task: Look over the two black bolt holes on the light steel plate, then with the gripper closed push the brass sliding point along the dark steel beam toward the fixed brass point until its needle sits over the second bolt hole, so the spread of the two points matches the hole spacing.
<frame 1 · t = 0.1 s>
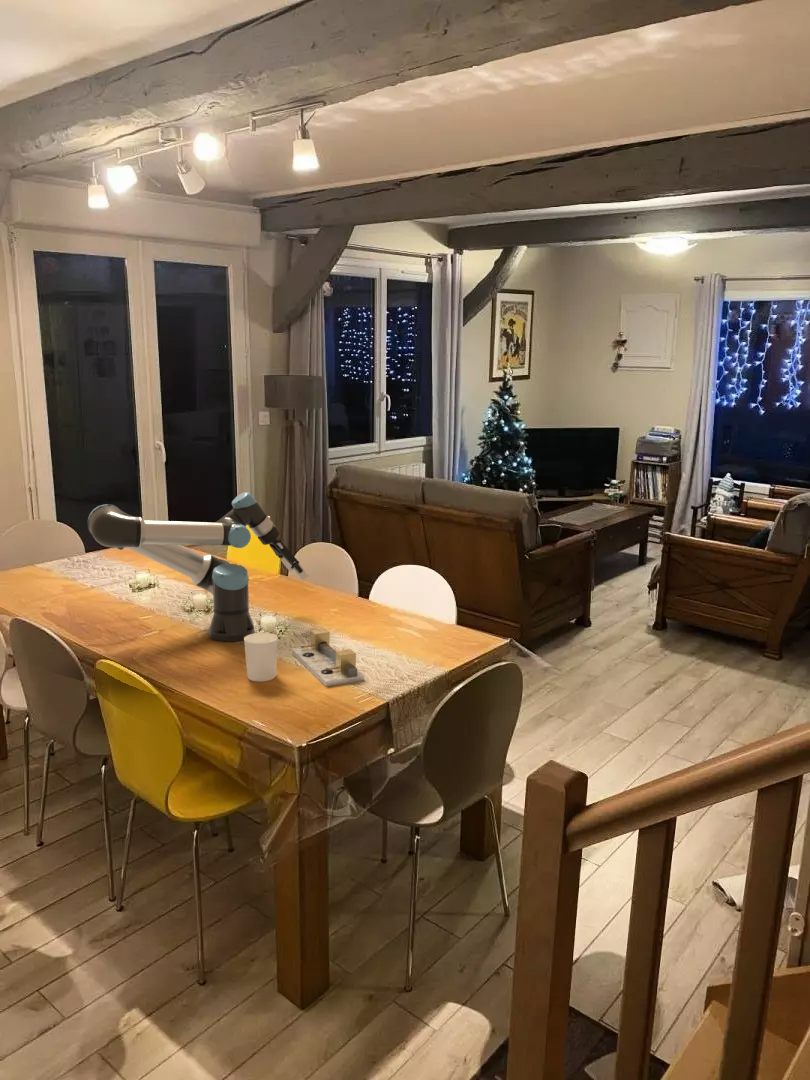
hand: (299, 574, 301), 15 cm above the table, tool tilted 35°, fingers open, 13 cm apart
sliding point: (314, 639, 263), point 4 cm above the table, slide at 5.5 cm
candle holder: (261, 677, 243), on the table
bolt plate: (325, 666, 252), on the table
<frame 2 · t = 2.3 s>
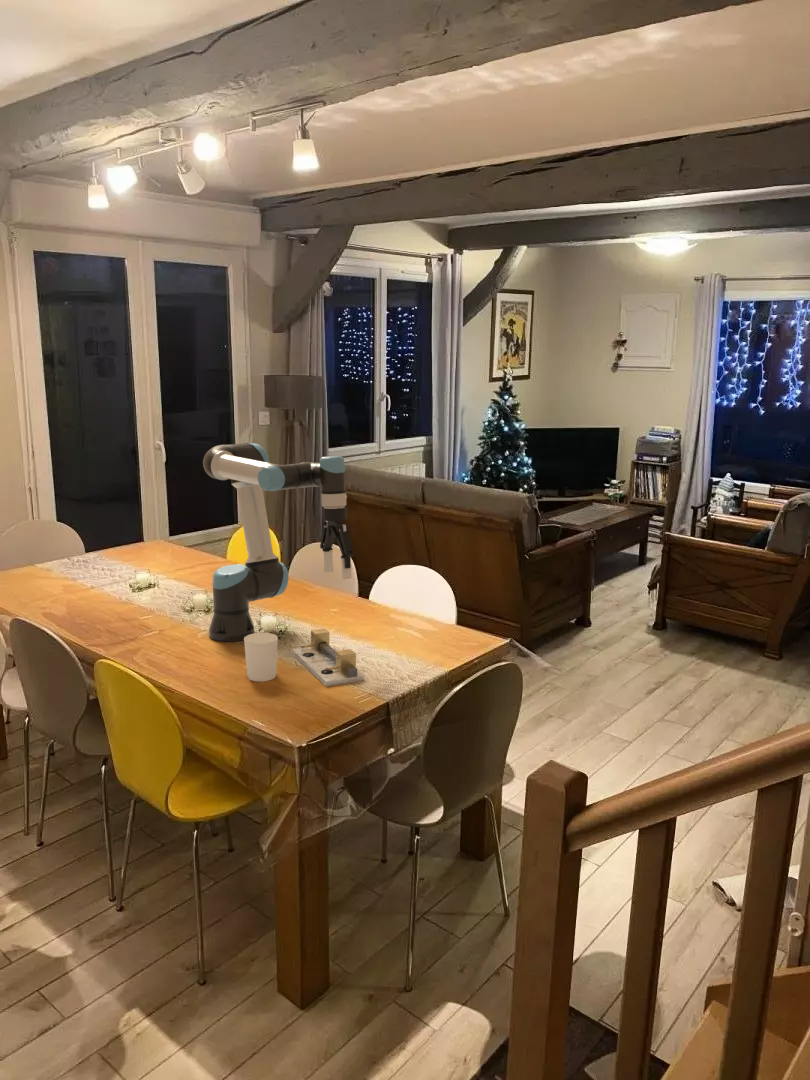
hand: (337, 575, 255), 27 cm above the table, tool pointing down, fingers open, 13 cm apart
nothing on the table moved.
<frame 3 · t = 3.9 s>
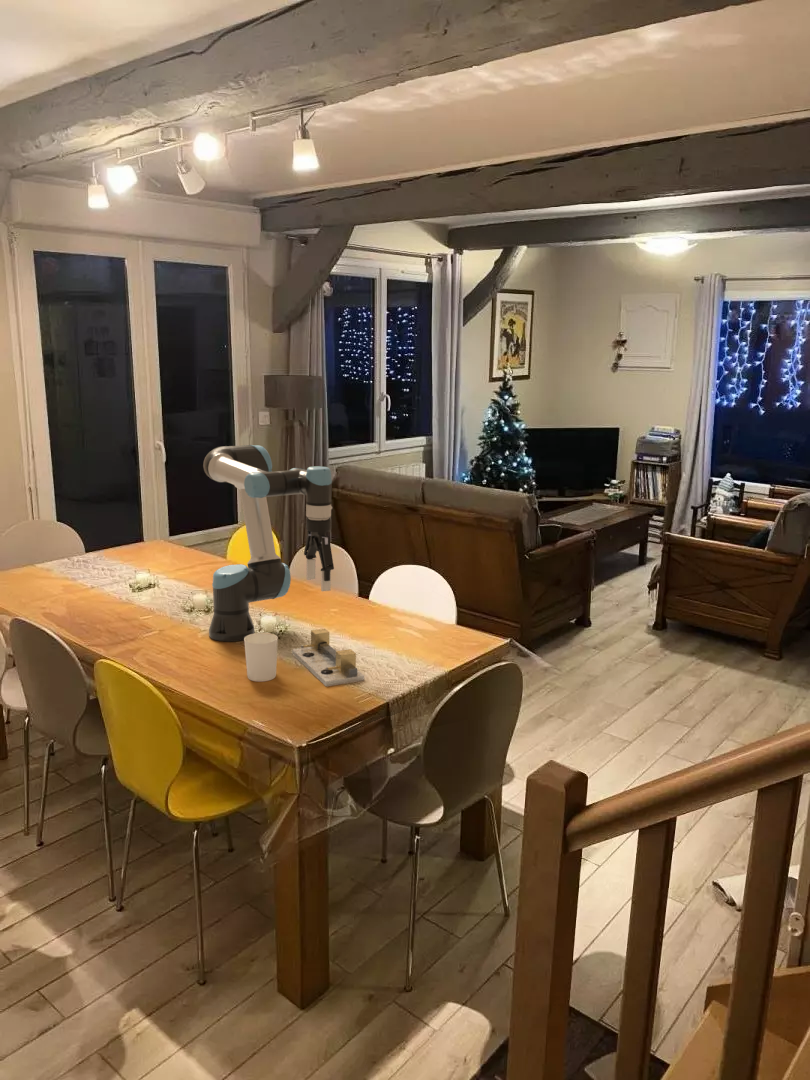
hand: (318, 584, 255), 24 cm above the table, tool pointing down, fingers open, 13 cm apart
nothing on the table moved.
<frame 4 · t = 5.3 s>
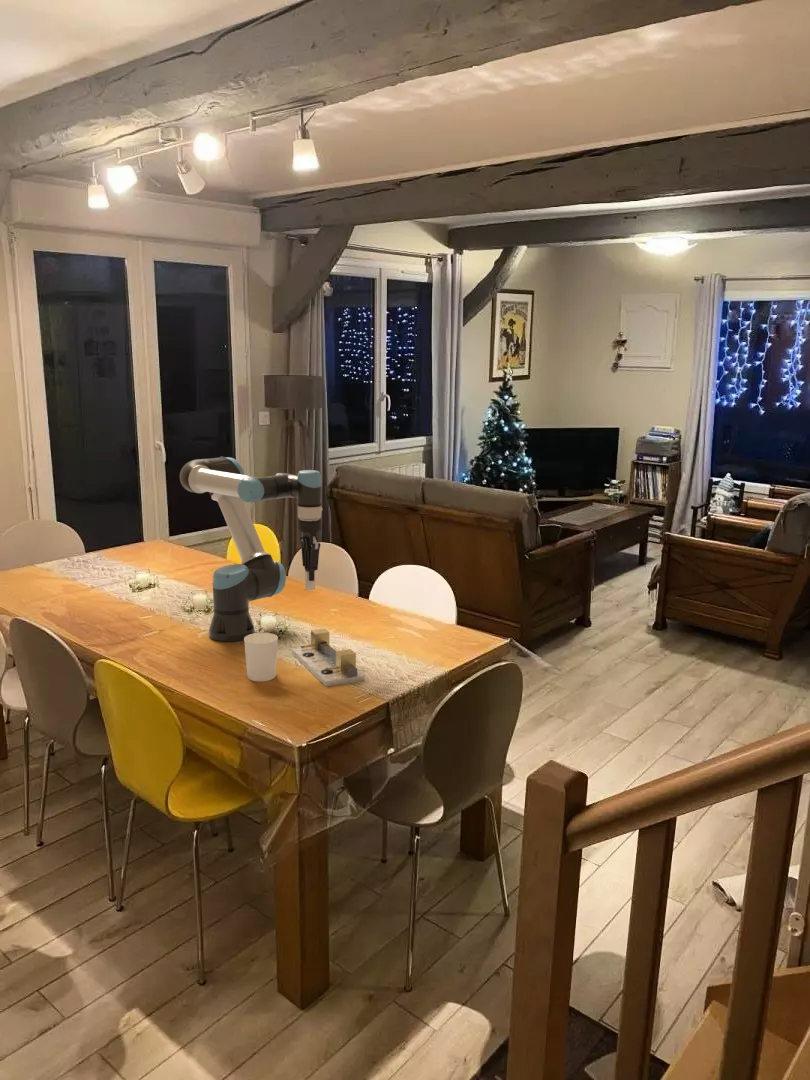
hand: (310, 589, 269), 18 cm above the table, tool pointing down, fingers closed
nothing on the table moved.
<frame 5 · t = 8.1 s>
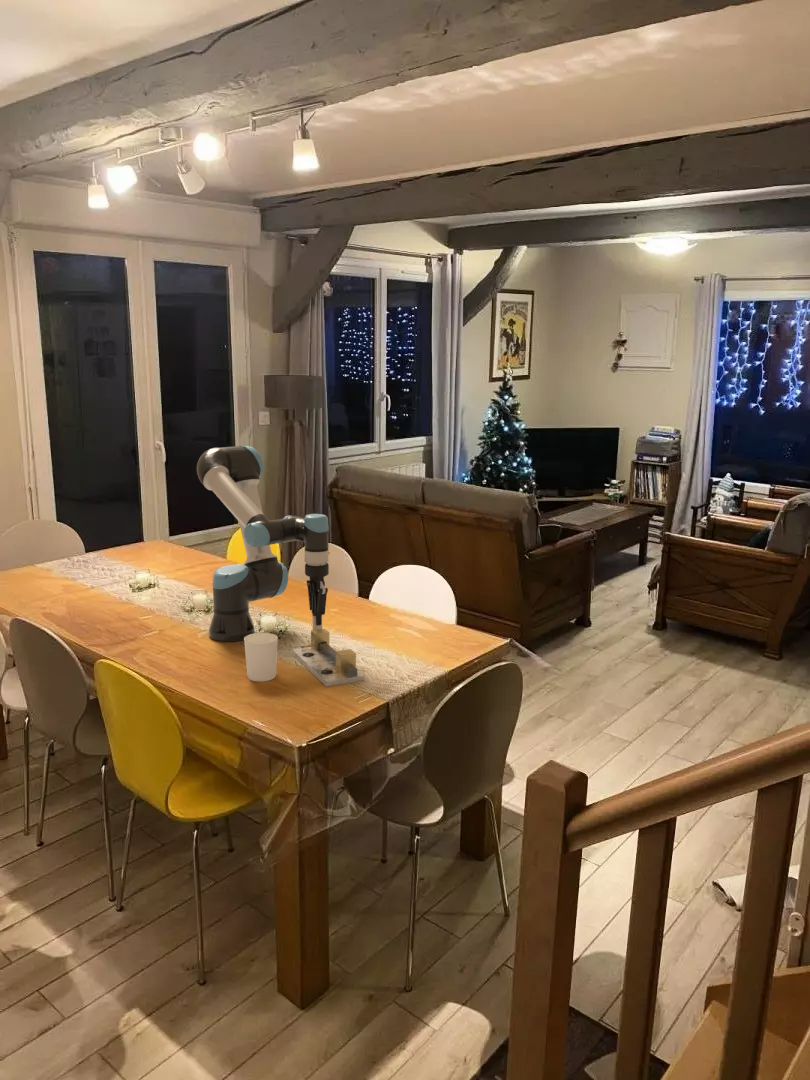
hand: (317, 633, 266), 5 cm above the table, tool pointing down, fingers closed
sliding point: (314, 639, 263), point 4 cm above the table, slide at 5.5 cm, touching gripper
everything else where it was.
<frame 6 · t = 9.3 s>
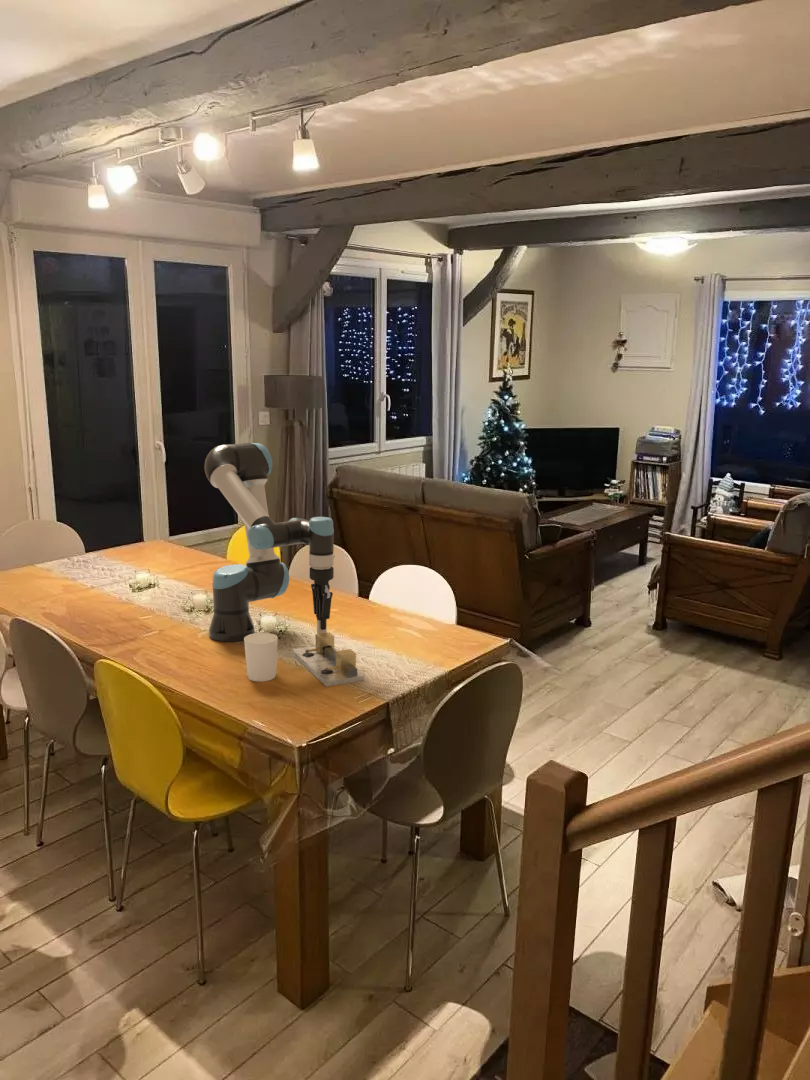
hand: (321, 638, 263), 5 cm above the table, tool pointing down, fingers closed
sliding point: (318, 643, 260), point 4 cm above the table, slide at 1.3 cm, touching gripper
everything else where it was.
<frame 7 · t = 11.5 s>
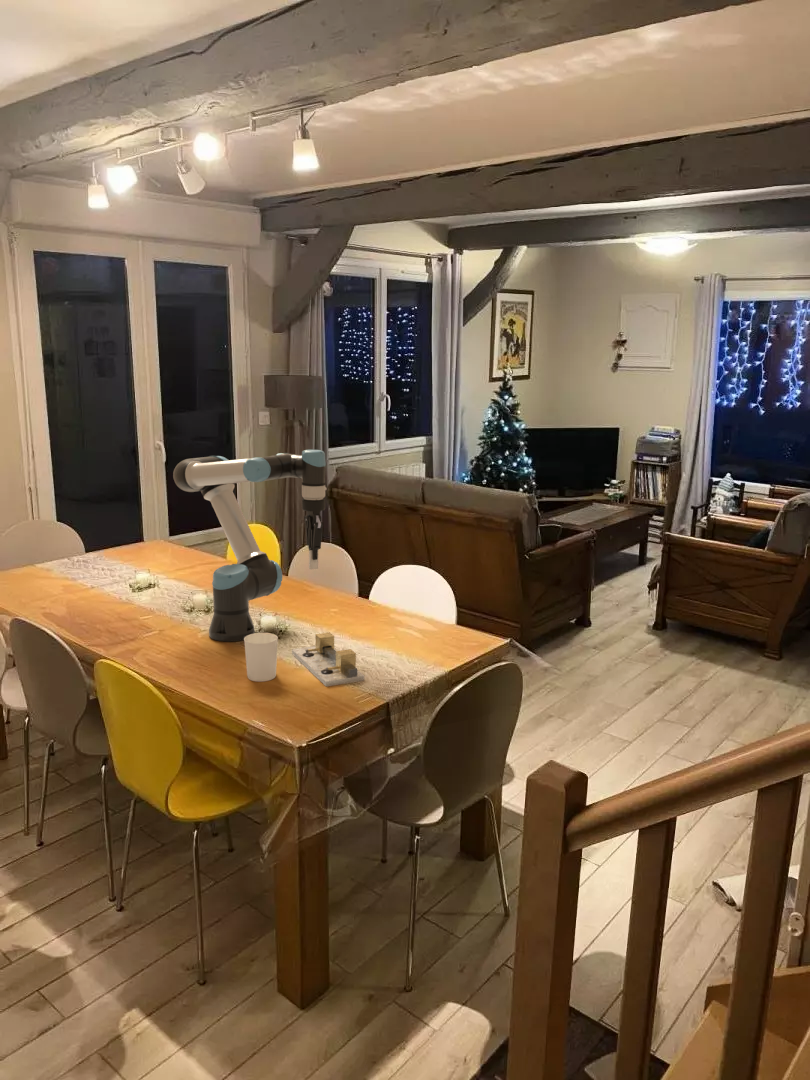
hand: (313, 568, 271), 25 cm above the table, tool pointing down, fingers closed
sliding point: (318, 643, 260), point 4 cm above the table, slide at 1.3 cm
everything else where it was.
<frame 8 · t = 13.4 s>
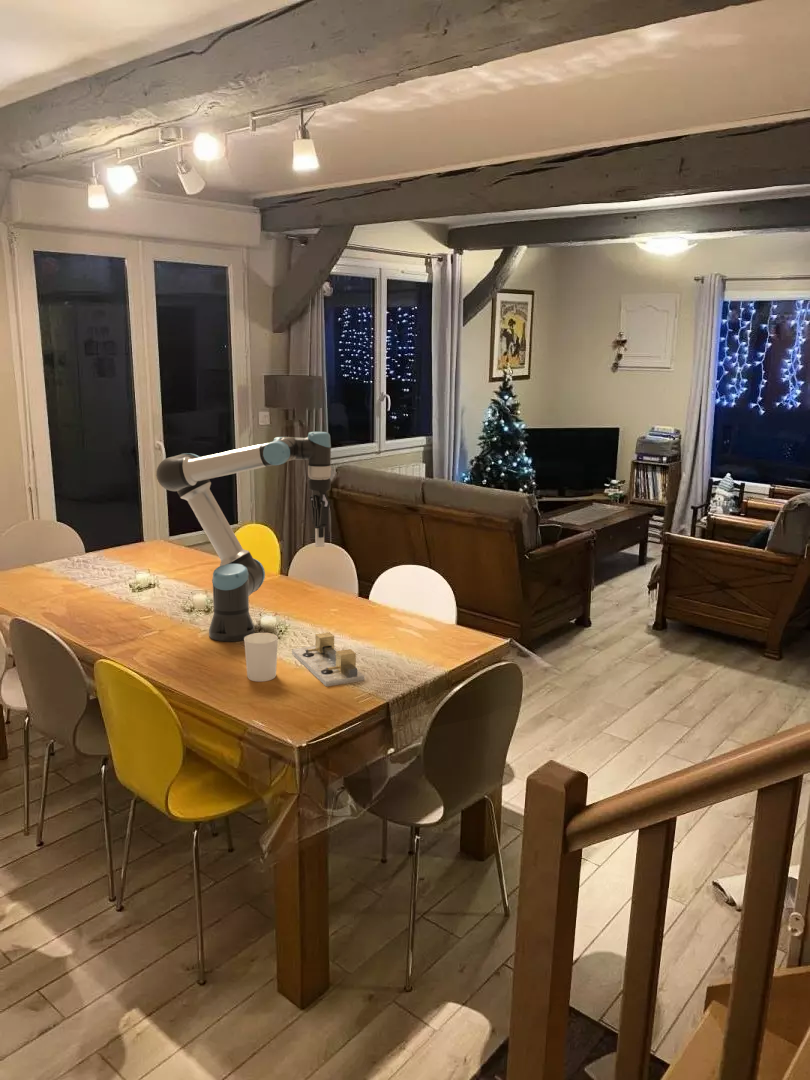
hand: (319, 546, 282), 29 cm above the table, tool pointing down, fingers closed
nothing on the table moved.
at the end: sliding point slide at 1.3 cm; candle holder moved 0.2 cm from its start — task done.
